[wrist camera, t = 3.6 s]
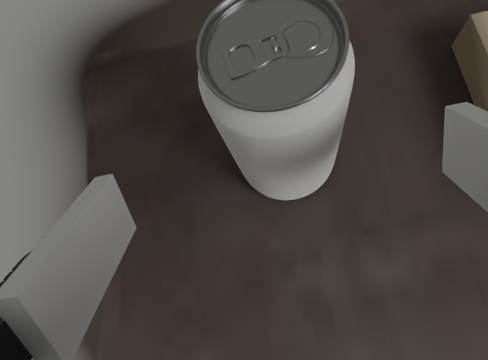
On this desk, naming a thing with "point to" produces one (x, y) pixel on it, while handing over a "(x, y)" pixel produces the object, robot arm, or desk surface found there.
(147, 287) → the desk surface
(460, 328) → the desk surface
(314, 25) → the can
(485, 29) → the base block
